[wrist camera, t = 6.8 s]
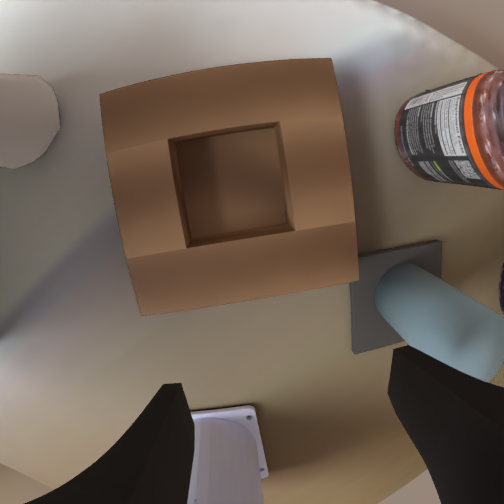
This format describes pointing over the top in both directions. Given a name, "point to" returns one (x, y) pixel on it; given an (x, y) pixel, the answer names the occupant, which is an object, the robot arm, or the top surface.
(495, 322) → the peg
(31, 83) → the salt shaker
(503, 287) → the storage jar
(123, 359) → the top surface
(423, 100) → the supplement bottle
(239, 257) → the holder
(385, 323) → the mat
